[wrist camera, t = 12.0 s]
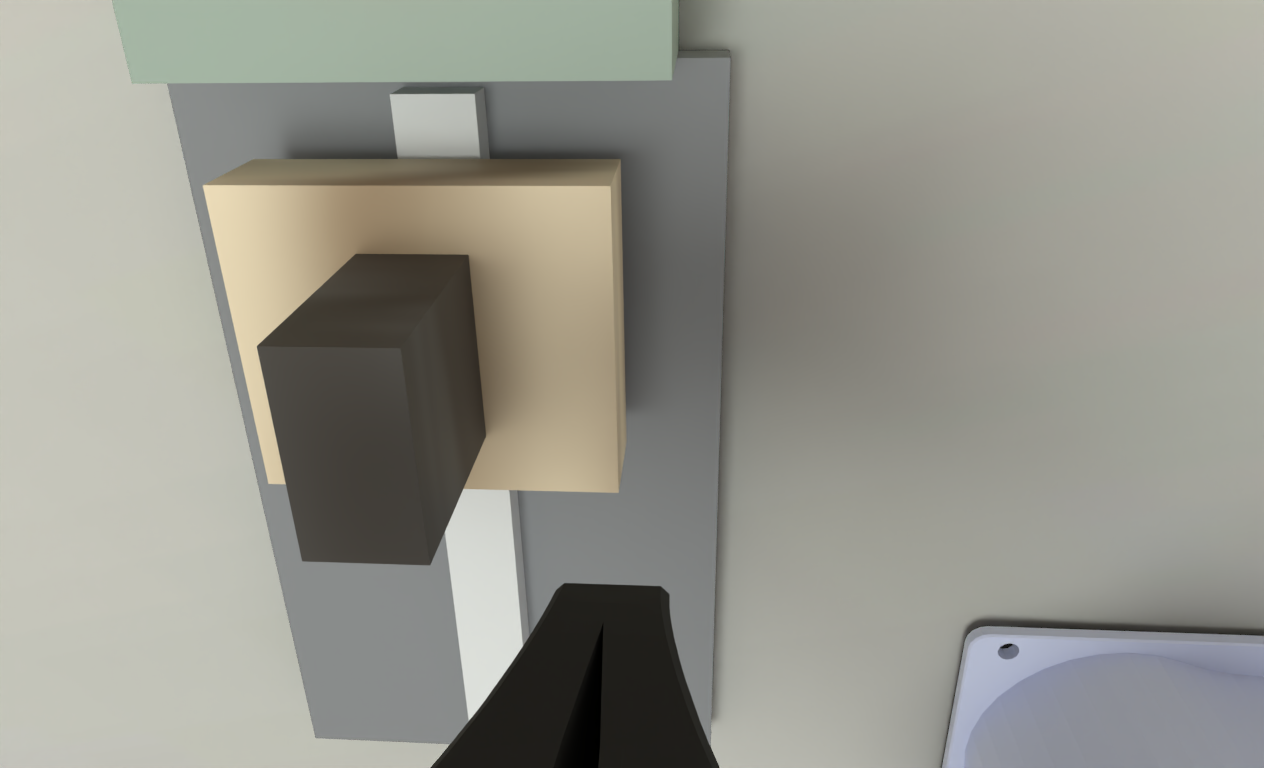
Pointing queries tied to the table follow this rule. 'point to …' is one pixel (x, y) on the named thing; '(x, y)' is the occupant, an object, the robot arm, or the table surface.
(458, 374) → the carriage
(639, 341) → the track
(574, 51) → the green button housing
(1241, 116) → the table surface
